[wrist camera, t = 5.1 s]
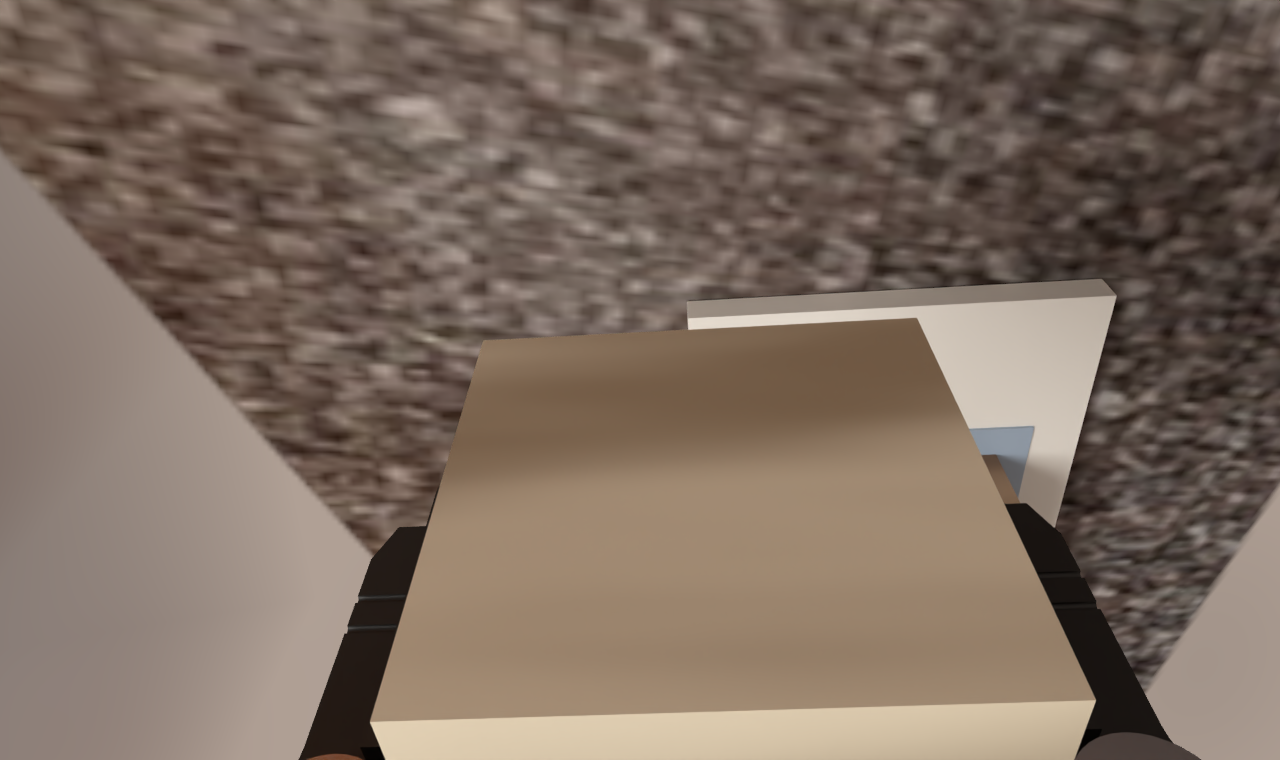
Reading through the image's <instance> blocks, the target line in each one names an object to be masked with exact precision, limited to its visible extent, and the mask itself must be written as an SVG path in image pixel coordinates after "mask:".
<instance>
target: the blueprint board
mask: <svg viewBox="0 0 1280 760" xmlns="http://www.w3.org/2000/svg"><path fill="white" fill-rule="evenodd" d="M1116 297H1117V295H1116V294H1115V293H1114V292H1113V291H1112V290H1111V289H1110V287H1109V286H1108V285H1107V284H1106V283H1105V282H1104V281H1103V280H1102V279H1089V280H1071V281H1052V282H1034V283H1015V284H997V285H978V286H960V287H941V288H923V289H904V290H886V291H867V292H849V293H830V294H812V295H793V296H775V297H756V298H738V299H719V300H701V301H687V314H688V330H693V329H712V328H731V327H750V326H769V325H788V324H807V323H826V322H845V321H864V320H883V319H902V318H917V319H918V321H919V323H920V325H921V327H922V330H923V332H924V334H925V336H926V338H927V340H928V342H929V345H930V347H931V349H932V351H933V353H934V355H935V357H936V359H937V362H938V364H939V366H940V368H941V370H942V372H943V374H944V377H945V379H946V381H947V383H948V385H949V387H950V389H951V392H952V394H953V396H954V398H955V400H956V402H957V404H958V406H959V409H960V411H961V413H962V415H963V417H964V419H965V421H966V424H967V426H968V428H969V430H970V432H971V434H972V436H973V438H974V441H975V443H976V445H977V447H978V449H979V451H980V453H981V455H992V454H996V455H997V457H998V459H999V461H1000V463H1001V465H1002V467H1003V469H1004V471H1005V473H1006V475H1007V477H1008V479H1009V481H1010V483H1011V485H1012V487H1013V489H1014V491H1015V493H1016V495H1017V497H1018V499H1019V501H1020V503H1027V504H1028V505H1029V506H1030V507H1032V508H1033V509H1034V510H1035V511H1036V512H1037V513H1038V514H1039V515H1040V516H1042V517H1043V518H1044V519H1045V520H1046V521H1047V522H1048V523H1049V524H1051V525H1052V526H1053V527H1054V528H1055V525H1056V521H1057V517H1058V514H1059V510H1060V506H1061V502H1062V499H1063V495H1064V491H1065V487H1066V484H1067V480H1068V476H1069V472H1070V469H1071V465H1072V461H1073V458H1074V454H1075V450H1076V446H1077V443H1078V439H1079V435H1080V431H1081V428H1082V424H1083V420H1084V416H1085V413H1086V409H1087V405H1088V401H1089V398H1090V394H1091V390H1092V386H1093V383H1094V379H1095V375H1096V371H1097V368H1098V364H1099V360H1100V356H1101V353H1102V349H1103V345H1104V342H1105V338H1106V334H1107V330H1108V327H1109V323H1110V319H1111V315H1112V312H1113V308H1114V304H1115V300H1116Z"/></svg>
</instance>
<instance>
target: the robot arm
mask: <svg viewBox="0 0 1280 760" xmlns="http://www.w3.org/2000/svg"><path fill="white" fill-rule="evenodd" d="M439 488H440V486H439ZM439 488H438V490H437V492H436V495H435V498H434V502H433V505H432V508H431V512H430V515H429V518H428V522H427V525H426V526H419V527H399V528H398V529H397V530H396V531H395V532H394V534H393V535H392V536H391V537H390V538H389V539H388V541H387V542H386V543H385V544H384V545H383V546H382V547H381V549H380V550H379V551H378V552H377V553H376V554H375V556H374V557H373V558H372V559H371V561H370V564H369V567H368V570H367V573H366V575H365V578H364V581H363V584H362V586H361V589H360V592H359V595H358V597H359V601H358V603H355V606H354V609H353V612H352V615H351V617H350V620H349V623H348V632H347V634H344V637H343V640H342V643H341V646H340V648H339V651H338V654H337V657H336V659H335V663H334V665H333V668H332V671H331V674H330V676H329V679H328V682H327V685H326V688H325V690H324V693H323V696H322V699H321V702H320V704H319V707H318V710H317V713H316V716H315V718H314V721H313V724H312V727H311V730H310V732H309V735H308V738H307V741H306V744H305V747H304V749H303V751H302V753H301V756H300V758H299V760H385V757H384V755H383V752H382V750H381V748H380V745H379V743H378V740H377V738H376V736H375V733H374V731H373V728H372V726H371V723H370V720H371V716H372V713H373V710H374V706H375V703H376V700H377V696H378V693H379V690H380V686H381V683H382V679H383V676H384V673H385V669H386V666H387V663H388V659H389V656H390V653H391V649H392V646H393V642H394V639H395V636H396V632H397V629H398V626H399V622H400V619H401V616H402V612H403V609H404V605H405V602H406V599H407V595H408V592H409V589H410V585H411V582H412V579H413V575H414V572H415V568H416V565H417V562H418V558H419V555H420V552H421V548H422V545H423V542H424V538H425V535H426V531H427V528H428V525H429V521H430V518H431V515H432V511H433V508H434V505H435V501H436V498H437V494H438V491H439ZM1004 505H1005V507H1006V509H1007V511H1008V513H1009V515H1010V517H1011V520H1012V522H1013V524H1014V526H1015V528H1016V530H1017V532H1018V534H1019V537H1020V539H1021V541H1022V543H1023V545H1024V547H1025V549H1026V552H1027V554H1028V556H1029V558H1030V560H1031V562H1032V564H1033V566H1034V569H1035V571H1036V573H1037V575H1038V577H1039V579H1040V581H1041V584H1042V586H1043V588H1044V590H1045V592H1046V594H1047V596H1048V599H1049V601H1050V603H1051V605H1052V607H1053V609H1054V611H1055V613H1056V616H1057V618H1058V620H1059V622H1060V624H1061V626H1062V628H1063V631H1064V633H1065V635H1066V637H1067V639H1068V641H1069V643H1070V645H1071V648H1072V650H1073V652H1074V654H1075V656H1076V658H1077V660H1078V663H1079V665H1080V667H1081V669H1082V671H1083V673H1084V675H1085V677H1086V680H1087V682H1088V684H1089V686H1090V688H1091V690H1092V692H1093V695H1094V697H1095V699H1096V702H1095V705H1094V708H1093V710H1092V713H1091V716H1090V718H1089V721H1088V724H1087V727H1086V729H1085V732H1084V735H1083V737H1082V740H1081V743H1080V746H1079V748H1078V751H1077V754H1076V756H1075V759H1074V760H1201V759H1199V758H1198V757H1197V756H1195V755H1194V754H1192V753H1190V752H1189V751H1187V750H1185V749H1184V748H1182V747H1180V746H1178V745H1175V744H1174V743H1173V742H1172V741H1171V740H1170V738H1169V737H1168V735H1167V734H1166V732H1165V731H1164V729H1163V727H1162V726H1161V724H1160V722H1159V720H1158V718H1157V716H1156V714H1155V712H1154V710H1153V709H1152V707H1151V705H1150V703H1149V701H1148V699H1147V697H1146V695H1145V693H1144V691H1143V689H1142V688H1141V686H1140V684H1139V682H1138V680H1137V678H1136V676H1135V674H1134V672H1133V670H1132V668H1131V667H1130V665H1129V663H1128V661H1127V659H1126V657H1125V655H1124V653H1123V651H1122V649H1121V647H1120V646H1119V644H1118V642H1117V640H1116V638H1115V636H1114V634H1113V632H1112V630H1111V628H1110V626H1109V625H1108V623H1107V621H1106V619H1105V617H1104V615H1103V613H1102V611H1101V609H1097V607H1096V600H1095V598H1094V596H1093V594H1092V592H1091V590H1090V588H1089V586H1088V584H1087V582H1086V581H1085V579H1084V578H1081V576H1080V569H1079V567H1078V565H1077V563H1076V561H1075V560H1074V558H1073V556H1072V554H1071V552H1070V550H1069V548H1068V546H1067V544H1066V542H1065V540H1064V539H1063V537H1062V535H1061V533H1059V532H1058V531H1057V530H1056V529H1055V528H1054V527H1053V526H1052V525H1051V524H1049V523H1048V522H1047V521H1046V520H1045V519H1044V518H1043V517H1042V516H1040V515H1039V514H1038V513H1037V512H1036V511H1035V510H1034V509H1033V508H1032V507H1030V506H1029V505H1028V504H1027V503H1014V504H1004Z"/></svg>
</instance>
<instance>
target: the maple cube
mask: <svg viewBox="0 0 1280 760" xmlns="http://www.w3.org/2000/svg"><path fill="white" fill-rule="evenodd" d="M1095 702H1096V699H1095V697H1094V695H1093V692H1092V690H1091V688H1090V686H1089V684H1088V682H1087V680H1086V677H1085V675H1084V673H1083V671H1082V669H1081V667H1080V665H1079V663H1078V660H1077V658H1076V656H1075V654H1074V652H1073V650H1072V648H1071V645H1070V643H1069V641H1068V639H1067V637H1066V635H1065V633H1064V631H1063V628H1062V626H1061V624H1060V622H1059V620H1058V618H1057V616H1056V613H1055V611H1054V609H1053V607H1052V605H1051V603H1050V601H1049V599H1048V596H1047V594H1046V592H1045V590H1044V588H1043V586H1042V584H1041V581H1040V579H1039V577H1038V575H1037V573H1036V571H1035V569H1034V566H1033V564H1032V562H1031V560H1030V558H1029V556H1028V554H1027V552H1026V549H1025V547H1024V545H1023V543H1022V541H1021V539H1020V537H1019V534H1018V532H1017V530H1016V528H1015V526H1014V524H1013V522H1012V520H1011V517H1010V515H1009V513H1008V511H1007V509H1006V507H1005V505H1004V502H1003V500H1002V498H1001V496H1000V494H999V492H998V490H997V488H996V485H995V483H994V481H993V479H992V477H991V475H990V473H989V470H988V468H987V466H986V464H985V462H984V460H983V458H982V456H981V453H980V451H979V449H978V447H977V445H976V443H975V441H974V438H973V436H972V434H971V432H970V430H969V428H968V426H967V424H966V421H965V419H964V417H963V415H962V413H961V411H960V409H959V406H958V404H957V402H956V400H955V398H954V396H953V394H952V392H951V389H950V387H949V385H948V383H947V381H946V379H945V377H944V374H943V372H942V370H941V368H940V366H939V364H938V362H937V359H936V357H935V355H934V353H933V351H932V349H931V347H930V345H929V342H928V340H927V338H926V336H925V334H924V332H923V330H922V327H921V325H920V323H919V321H918V319H917V318H902V319H883V320H864V321H845V322H826V323H807V324H788V325H769V326H750V327H731V328H712V329H693V330H674V331H655V332H636V333H617V334H598V335H579V336H560V337H541V338H522V339H503V340H484V341H483V343H482V347H481V350H480V353H479V357H478V360H477V363H476V367H475V370H474V373H473V377H472V380H471V383H470V387H469V390H468V394H467V397H466V400H465V404H464V407H463V410H462V414H461V417H460V420H459V424H458V427H457V431H456V434H455V437H454V441H453V444H452V447H451V451H450V454H449V457H448V461H447V464H446V468H445V471H444V474H443V478H442V481H441V484H440V488H439V491H438V494H437V498H436V501H435V505H434V508H433V511H432V515H431V518H430V521H429V525H428V528H427V531H426V535H425V538H424V542H423V545H422V548H421V552H420V555H419V558H418V562H417V565H416V568H415V572H414V575H413V579H412V582H411V585H410V589H409V592H408V595H407V599H406V602H405V605H404V609H403V612H402V616H401V619H400V622H399V626H398V629H397V632H396V636H395V639H394V642H393V646H392V649H391V653H390V656H389V659H388V663H387V666H386V669H385V673H384V676H383V679H382V683H381V686H380V690H379V693H378V696H377V700H376V703H375V706H374V710H373V713H372V716H371V720H370V723H371V726H372V728H373V731H374V733H375V736H376V738H377V740H378V743H379V745H380V748H381V750H382V752H383V755H384V757H385V760H1074V759H1075V756H1076V754H1077V751H1078V748H1079V746H1080V743H1081V740H1082V737H1083V735H1084V732H1085V729H1086V727H1087V724H1088V721H1089V718H1090V716H1091V713H1092V710H1093V708H1094V705H1095Z"/></svg>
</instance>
